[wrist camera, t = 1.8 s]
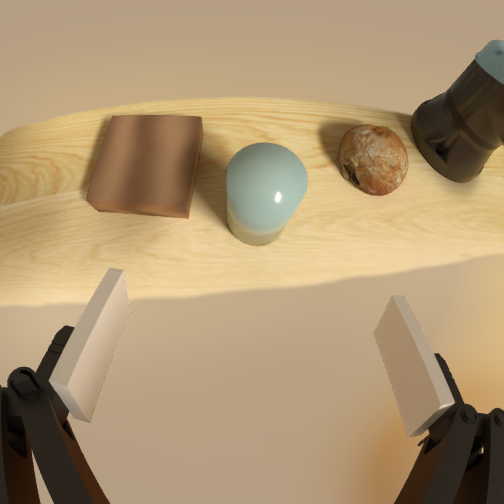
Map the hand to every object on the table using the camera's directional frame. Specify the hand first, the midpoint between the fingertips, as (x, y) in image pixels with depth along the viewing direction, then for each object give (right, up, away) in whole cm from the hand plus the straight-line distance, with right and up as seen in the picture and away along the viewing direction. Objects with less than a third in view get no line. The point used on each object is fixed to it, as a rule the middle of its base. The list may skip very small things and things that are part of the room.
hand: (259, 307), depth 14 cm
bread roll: (+16, +15, +25) cm, 34 cm away
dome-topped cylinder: (0, +7, +22) cm, 23 cm away
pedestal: (-13, +13, +23) cm, 29 cm away
